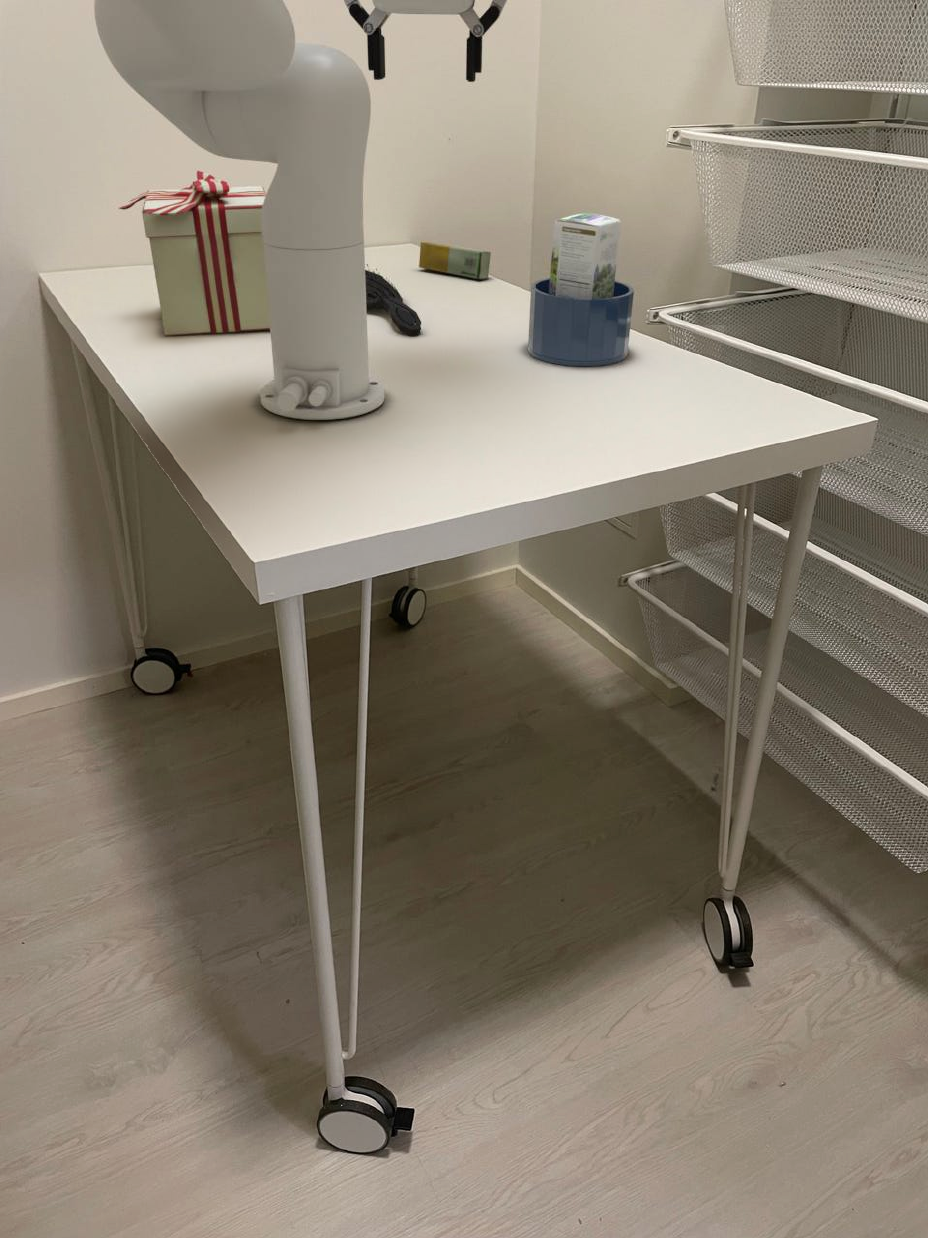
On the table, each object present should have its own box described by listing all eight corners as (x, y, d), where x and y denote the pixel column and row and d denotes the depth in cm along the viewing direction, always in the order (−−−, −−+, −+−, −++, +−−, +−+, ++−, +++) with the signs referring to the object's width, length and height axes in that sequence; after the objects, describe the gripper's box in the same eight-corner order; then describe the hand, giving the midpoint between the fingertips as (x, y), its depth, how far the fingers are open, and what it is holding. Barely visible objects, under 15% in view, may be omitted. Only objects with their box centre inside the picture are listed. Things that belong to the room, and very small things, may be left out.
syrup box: (566, 337, 120) (575, 211, 113) (610, 345, 117) (622, 216, 110) (543, 348, 116) (551, 217, 109) (588, 356, 113) (599, 223, 106)
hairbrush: (382, 315, 119) (328, 264, 138) (382, 345, 121) (329, 290, 140) (446, 310, 122) (384, 260, 141) (445, 339, 124) (384, 286, 143)
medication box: (489, 278, 151) (492, 251, 149) (479, 280, 149) (482, 252, 147) (427, 266, 156) (429, 239, 155) (417, 267, 154) (419, 240, 153)
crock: (629, 368, 112) (636, 301, 108) (525, 363, 112) (529, 297, 109) (624, 340, 122) (631, 278, 118) (530, 336, 123) (533, 274, 119)
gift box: (134, 310, 131) (112, 169, 122) (272, 301, 136) (261, 166, 127) (140, 344, 117) (115, 188, 108) (293, 333, 122) (282, 183, 113)
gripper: (326, -131, 91) (336, 79, 100) (512, -130, 89) (505, 83, 98) (343, -120, 97) (350, 76, 106) (516, -119, 96) (509, 80, 105)
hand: (425, 79), depth 102 cm, fingers open, 9 cm apart
